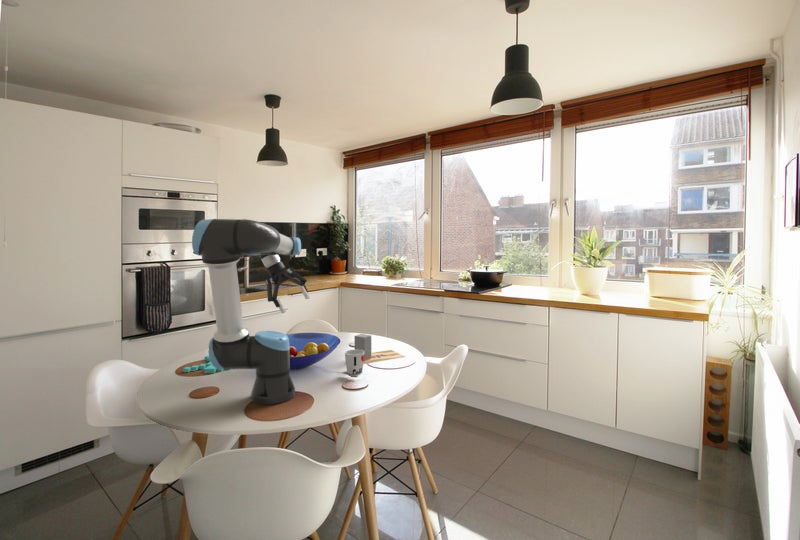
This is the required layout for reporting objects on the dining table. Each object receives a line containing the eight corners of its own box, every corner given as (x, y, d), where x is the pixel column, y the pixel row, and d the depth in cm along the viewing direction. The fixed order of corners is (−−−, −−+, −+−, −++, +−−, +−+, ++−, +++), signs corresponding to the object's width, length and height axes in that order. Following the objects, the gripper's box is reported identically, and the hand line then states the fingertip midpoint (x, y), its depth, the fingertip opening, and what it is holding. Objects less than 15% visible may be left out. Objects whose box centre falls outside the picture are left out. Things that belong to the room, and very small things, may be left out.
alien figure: (183, 373, 172) (229, 374, 172) (183, 368, 172) (229, 369, 172) (206, 359, 192) (248, 360, 192) (206, 355, 192) (248, 355, 192)
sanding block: (371, 358, 189) (371, 335, 188) (364, 361, 184) (364, 337, 184) (361, 356, 192) (361, 333, 191) (354, 359, 188) (354, 335, 187)
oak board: (405, 359, 192) (405, 356, 192) (359, 367, 180) (359, 364, 180) (391, 352, 204) (391, 349, 204) (347, 359, 192) (347, 356, 192)
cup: (352, 380, 164) (352, 356, 163) (341, 375, 170) (341, 351, 169) (368, 375, 169) (368, 352, 169) (357, 370, 176) (357, 348, 175)
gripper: (292, 255, 192) (313, 294, 195) (246, 277, 176) (269, 319, 179) (299, 251, 187) (321, 291, 189) (252, 274, 171) (276, 317, 173)
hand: (296, 305), depth 184 cm, fingers open, 13 cm apart
